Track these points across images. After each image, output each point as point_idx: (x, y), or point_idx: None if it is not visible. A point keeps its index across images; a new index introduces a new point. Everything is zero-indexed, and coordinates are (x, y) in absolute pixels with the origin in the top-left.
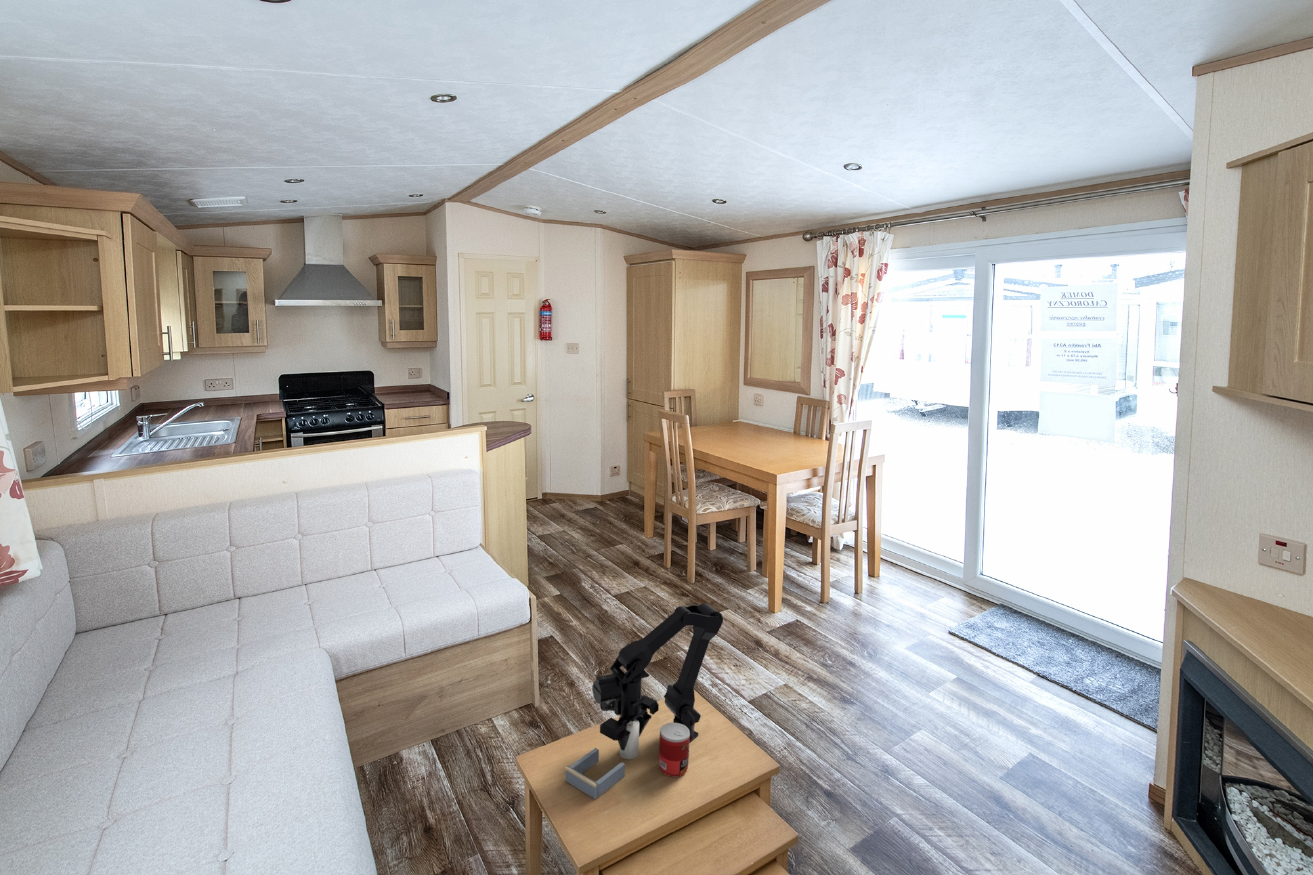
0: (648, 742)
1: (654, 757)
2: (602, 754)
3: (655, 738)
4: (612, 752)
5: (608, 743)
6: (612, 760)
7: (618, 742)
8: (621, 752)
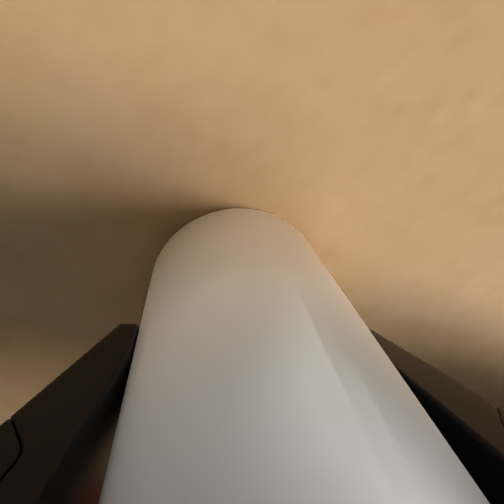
0: (432, 325)
1: None
2: (35, 89)
3: (496, 335)
4: (143, 164)
5: (240, 22)
6: (47, 238)
7: (57, 379)
8: (149, 288)
